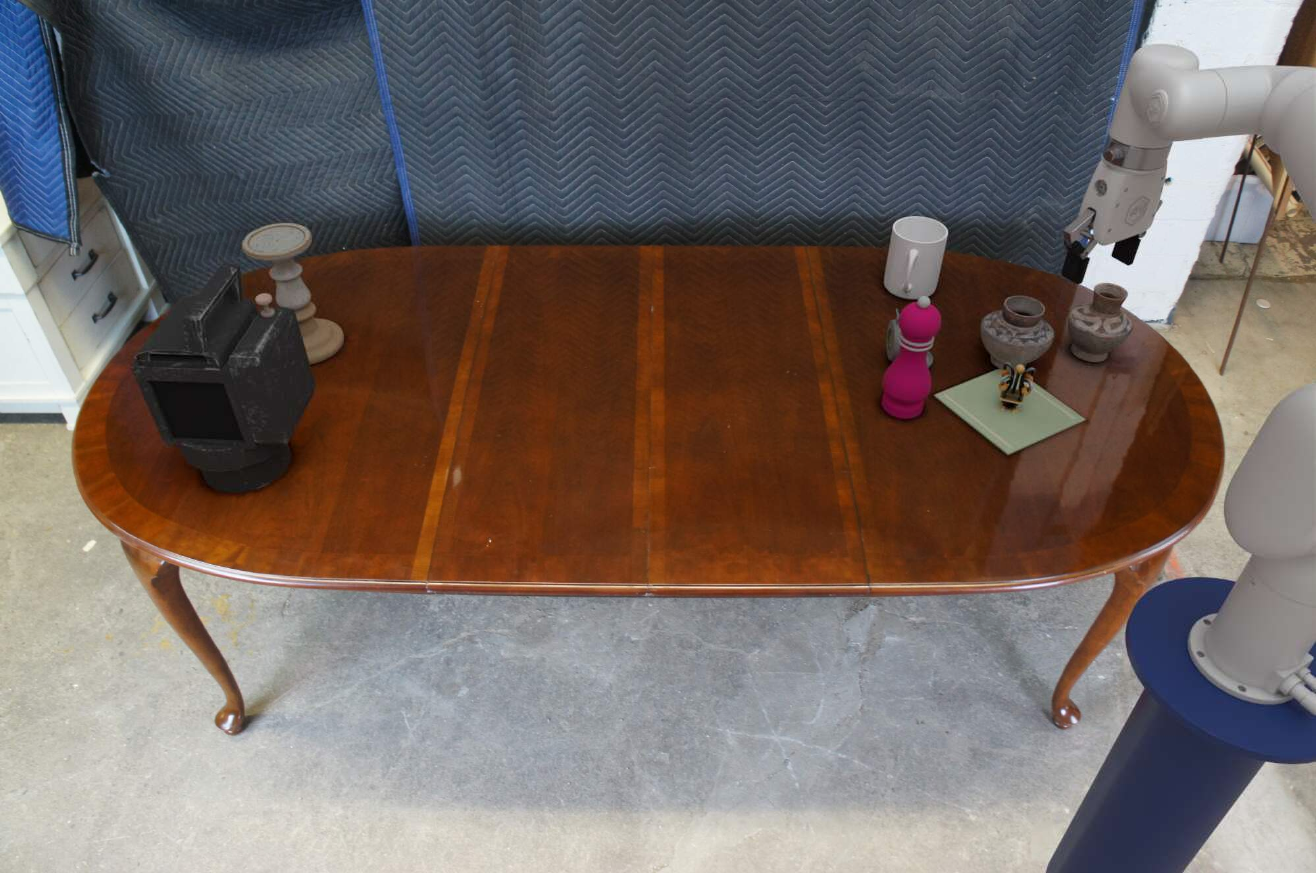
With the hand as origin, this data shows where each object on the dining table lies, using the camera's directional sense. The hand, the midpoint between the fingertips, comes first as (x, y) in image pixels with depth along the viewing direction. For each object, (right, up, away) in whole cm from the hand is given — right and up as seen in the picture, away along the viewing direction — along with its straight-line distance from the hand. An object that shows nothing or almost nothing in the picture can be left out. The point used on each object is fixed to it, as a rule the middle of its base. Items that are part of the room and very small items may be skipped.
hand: (1096, 270), depth 134 cm
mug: (-14, +3, +44) cm, 46 cm away
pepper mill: (-22, -18, +19) cm, 34 cm away
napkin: (-5, -18, +18) cm, 27 cm away
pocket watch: (-19, -10, +28) cm, 35 cm away
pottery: (+4, -10, +28) cm, 30 cm away
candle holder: (-119, -8, +31) cm, 123 cm away
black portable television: (-118, -27, +9) cm, 121 cm away
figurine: (-5, -18, +18) cm, 26 cm away
